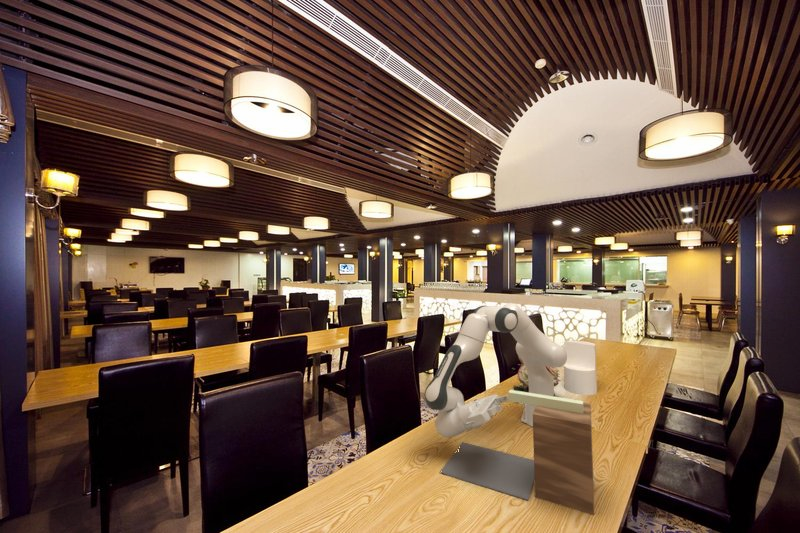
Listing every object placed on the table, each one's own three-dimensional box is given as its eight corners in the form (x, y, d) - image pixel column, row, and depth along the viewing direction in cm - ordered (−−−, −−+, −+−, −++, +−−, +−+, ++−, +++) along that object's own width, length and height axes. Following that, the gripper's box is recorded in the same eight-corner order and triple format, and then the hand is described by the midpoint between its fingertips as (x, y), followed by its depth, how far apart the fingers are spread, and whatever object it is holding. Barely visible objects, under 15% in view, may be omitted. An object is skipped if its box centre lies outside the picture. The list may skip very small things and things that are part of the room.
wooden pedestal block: (542, 467, 118) (540, 395, 119) (593, 481, 110) (590, 403, 111) (535, 497, 103) (532, 414, 104) (593, 515, 95) (590, 424, 96)
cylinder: (571, 383, 209) (570, 339, 210) (601, 390, 196) (599, 343, 197) (559, 389, 198) (557, 343, 199) (590, 397, 185) (588, 347, 186)
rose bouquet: (518, 407, 172) (517, 350, 173) (508, 388, 201) (506, 340, 202) (570, 409, 169) (568, 351, 170) (551, 390, 198) (549, 340, 199)
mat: (462, 442, 137) (462, 441, 137) (539, 462, 122) (539, 461, 122) (439, 473, 116) (439, 471, 116) (528, 501, 101) (528, 499, 101)
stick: (510, 398, 117) (510, 389, 118) (583, 410, 106) (583, 401, 106) (508, 400, 115) (508, 392, 115) (583, 413, 103) (582, 404, 103)
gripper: (458, 417, 115) (492, 404, 109) (476, 398, 133) (506, 385, 127) (467, 435, 113) (502, 422, 107) (484, 413, 131) (514, 400, 125)
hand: (504, 402), depth 117 cm, fingers open, 8 cm apart
